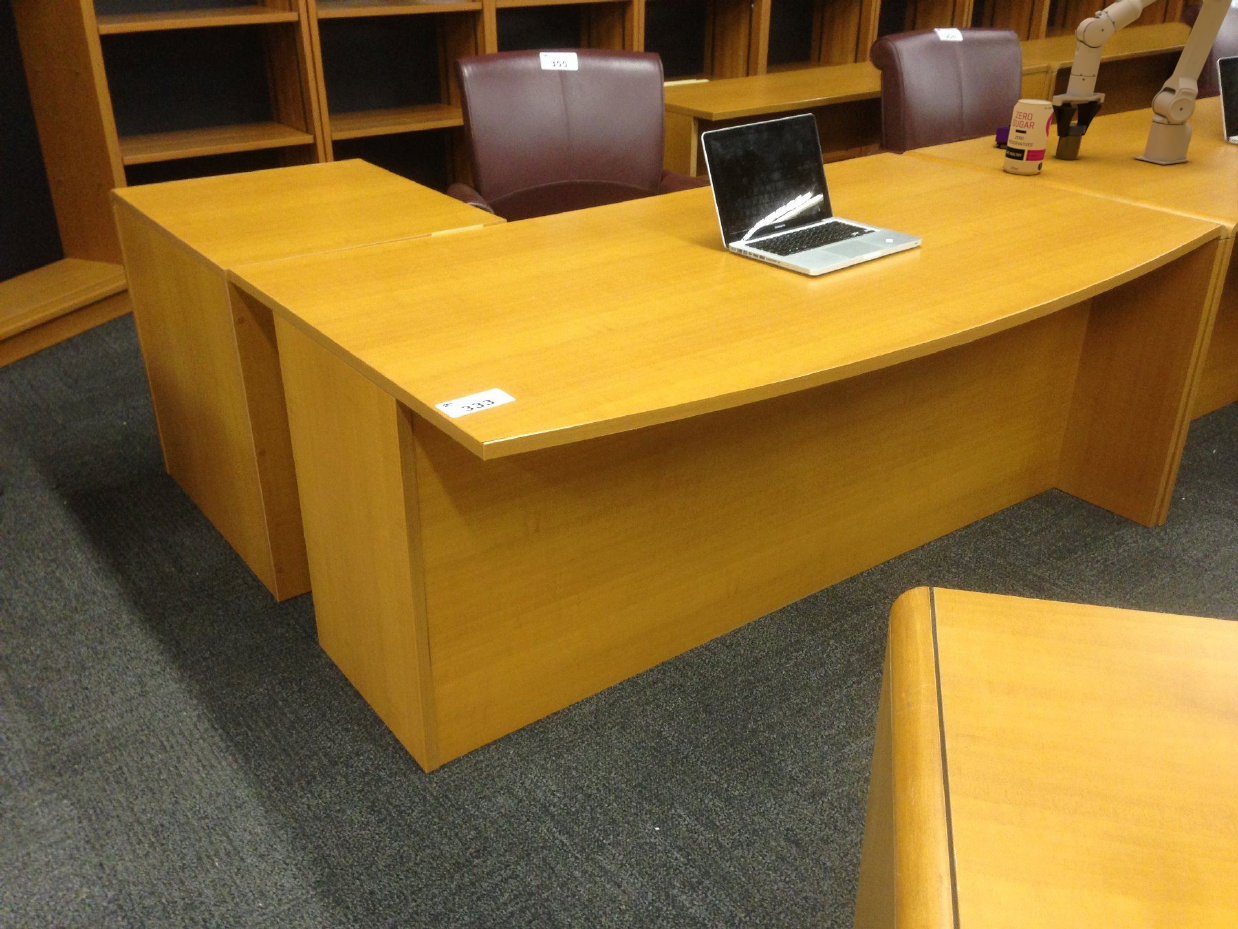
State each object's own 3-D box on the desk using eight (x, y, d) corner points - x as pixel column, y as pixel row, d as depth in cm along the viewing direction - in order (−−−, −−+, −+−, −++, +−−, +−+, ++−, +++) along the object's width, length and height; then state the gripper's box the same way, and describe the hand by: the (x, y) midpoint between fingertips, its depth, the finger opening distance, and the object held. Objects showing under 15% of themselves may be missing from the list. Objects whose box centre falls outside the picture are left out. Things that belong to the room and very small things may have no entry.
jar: (1064, 154, 253) (1070, 124, 249) (1081, 158, 249) (1088, 128, 246) (1050, 156, 250) (1056, 126, 247) (1068, 160, 247) (1074, 130, 243)
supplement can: (1040, 169, 238) (1054, 99, 231) (1040, 176, 231) (1055, 105, 224) (1002, 166, 240) (1015, 97, 233) (1002, 173, 233) (1015, 102, 226)
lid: (1063, 133, 244) (1064, 126, 244) (1055, 129, 249) (1057, 121, 249) (1088, 134, 244) (1089, 126, 243) (1079, 129, 249) (1081, 122, 248)
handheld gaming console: (1047, 127, 265) (1036, 129, 253) (1042, 149, 267) (1031, 151, 255) (1009, 123, 269) (997, 125, 257) (1005, 144, 271) (992, 147, 259)
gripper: (1074, 78, 235) (1061, 140, 241) (1120, 75, 241) (1106, 136, 247) (1050, 74, 240) (1038, 135, 247) (1095, 71, 246) (1082, 131, 252)
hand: (1070, 135), depth 247 cm, fingers closed on lid, 5 cm apart
